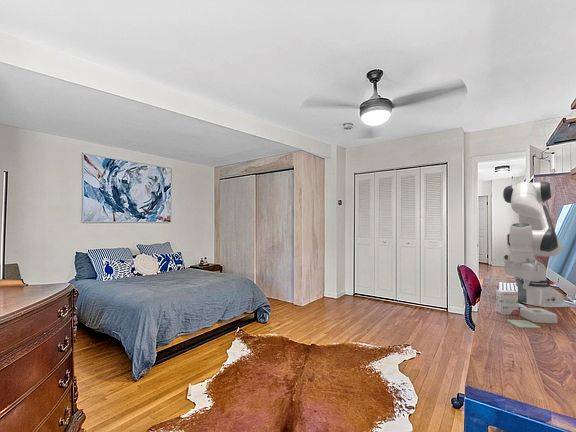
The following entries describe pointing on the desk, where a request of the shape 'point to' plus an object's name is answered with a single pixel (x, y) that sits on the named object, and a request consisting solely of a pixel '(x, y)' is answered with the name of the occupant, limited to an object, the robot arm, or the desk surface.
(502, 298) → the ink box
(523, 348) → the desk surface
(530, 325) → the mat
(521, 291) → the plug
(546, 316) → the white square frame block
